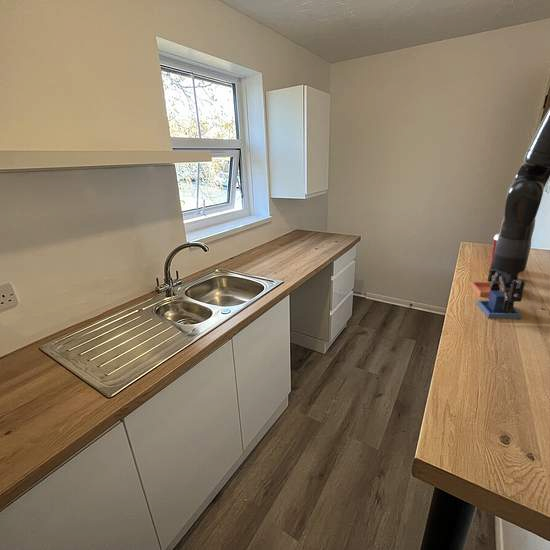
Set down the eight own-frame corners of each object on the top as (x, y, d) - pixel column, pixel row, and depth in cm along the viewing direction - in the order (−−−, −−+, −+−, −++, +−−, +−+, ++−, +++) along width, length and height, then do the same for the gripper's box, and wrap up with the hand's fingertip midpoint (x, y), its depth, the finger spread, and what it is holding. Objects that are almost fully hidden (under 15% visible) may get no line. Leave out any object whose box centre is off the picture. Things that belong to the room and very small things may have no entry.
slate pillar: (501, 308, 91) (505, 290, 89) (508, 315, 87) (512, 296, 85) (486, 307, 92) (490, 290, 90) (492, 314, 88) (496, 296, 86)
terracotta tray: (509, 286, 104) (510, 281, 103) (522, 297, 96) (523, 292, 95) (470, 286, 106) (471, 281, 106) (479, 297, 99) (480, 292, 98)
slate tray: (506, 306, 93) (507, 300, 92) (520, 320, 85) (522, 314, 84) (476, 305, 94) (477, 300, 94) (487, 319, 87) (489, 313, 86)
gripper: (542, 261, 75) (527, 317, 81) (513, 244, 88) (502, 293, 94) (508, 261, 77) (496, 316, 83) (484, 244, 90) (475, 293, 96)
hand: (499, 304), depth 89 cm, fingers open, 8 cm apart
